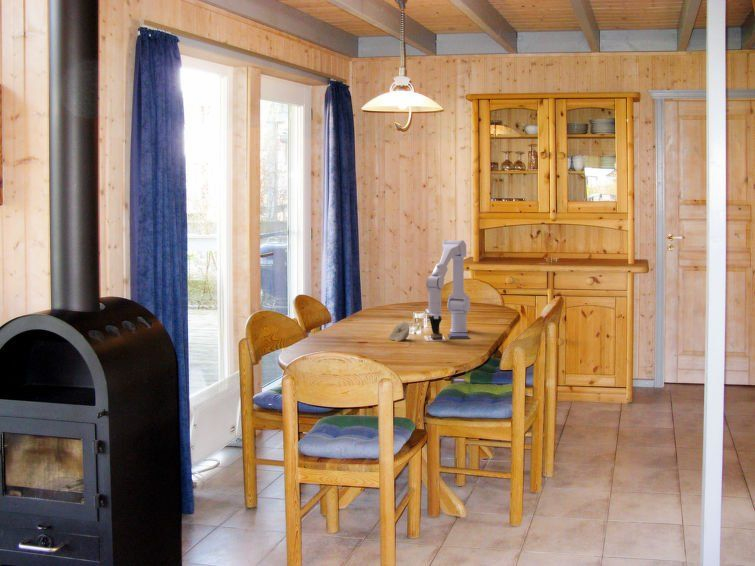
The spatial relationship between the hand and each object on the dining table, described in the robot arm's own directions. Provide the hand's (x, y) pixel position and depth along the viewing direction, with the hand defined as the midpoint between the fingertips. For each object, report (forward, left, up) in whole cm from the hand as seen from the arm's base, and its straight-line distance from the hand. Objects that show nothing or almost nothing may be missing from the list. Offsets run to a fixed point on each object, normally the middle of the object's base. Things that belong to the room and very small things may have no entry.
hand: (435, 332), depth 422 cm
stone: (-1, -16, -3) cm, 16 cm away
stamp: (0, +1, -3) cm, 3 cm away
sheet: (-3, 0, -3) cm, 5 cm away
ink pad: (-5, +11, -3) cm, 13 cm away
